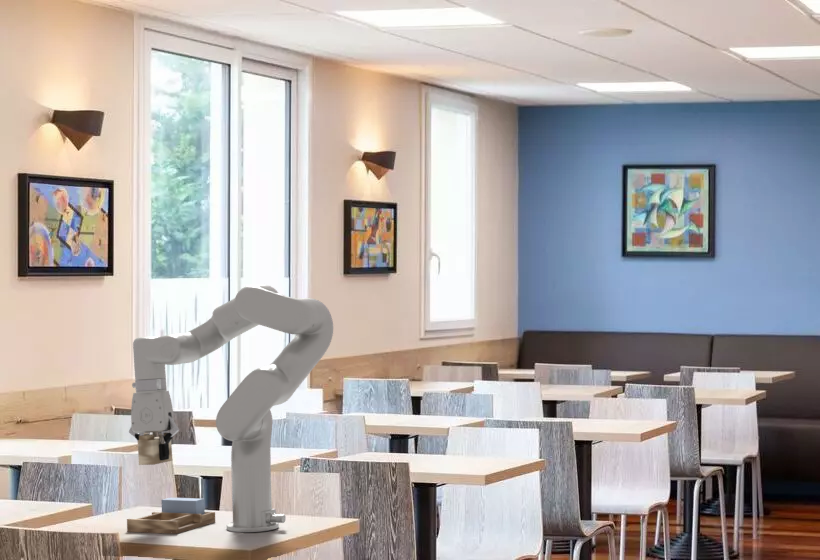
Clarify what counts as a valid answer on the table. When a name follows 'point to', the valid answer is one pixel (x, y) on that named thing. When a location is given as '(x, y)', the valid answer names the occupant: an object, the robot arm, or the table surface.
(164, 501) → the bar
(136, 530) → the tray
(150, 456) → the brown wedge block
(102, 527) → the table surface
